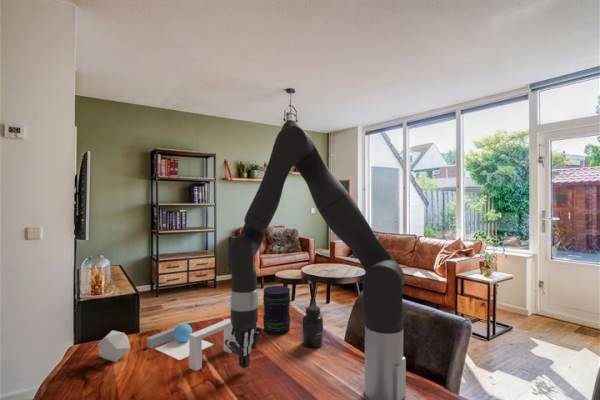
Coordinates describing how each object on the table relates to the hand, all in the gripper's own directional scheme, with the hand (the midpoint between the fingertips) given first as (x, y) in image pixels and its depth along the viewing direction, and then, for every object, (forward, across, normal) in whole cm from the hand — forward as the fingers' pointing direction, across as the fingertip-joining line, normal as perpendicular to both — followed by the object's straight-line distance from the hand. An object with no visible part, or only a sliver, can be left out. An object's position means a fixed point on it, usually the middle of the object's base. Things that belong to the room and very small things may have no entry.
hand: (244, 366), depth 95 cm
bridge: (+2, 0, +13) cm, 13 cm away
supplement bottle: (+2, +26, -6) cm, 27 cm away
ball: (-2, +2, +31) cm, 31 cm away
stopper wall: (+2, 0, +36) cm, 36 cm away
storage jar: (+2, +28, +11) cm, 30 cm away
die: (+2, -17, +38) cm, 42 cm away
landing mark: (+2, 0, +27) cm, 27 cm away
